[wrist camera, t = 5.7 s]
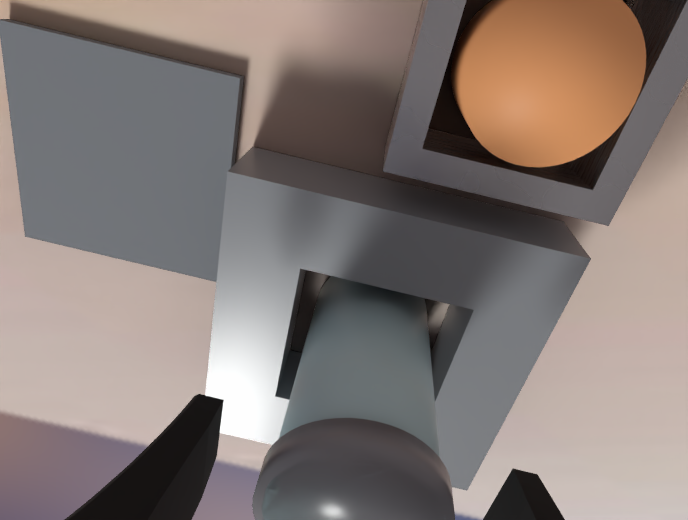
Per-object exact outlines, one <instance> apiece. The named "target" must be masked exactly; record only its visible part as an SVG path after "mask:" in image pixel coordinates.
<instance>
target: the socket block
mask: <svg viewBox="0 0 688 520" xmlns="http://www.w3.org/2000/svg"><path fill="white" fill-rule="evenodd" d="M590 260H591V258H590V257H589V256H588V254H587V253H586V252H585V250H584V249H583V248H582V246H581V245H580V244H579V242H578V241H577V239H576V238H575V237H574V235H573V234H572V233H571V231H570V230H569V229H568V227H567V226H566V225H565V223H564V222H563V221H559V220H555V219H550V218H546V217H542V216H538V215H534V214H530V213H526V212H521V211H517V210H513V209H509V208H505V207H501V206H497V205H492V204H488V203H484V202H480V201H476V200H472V199H468V198H463V197H459V196H455V195H451V194H447V193H443V192H439V191H434V190H430V189H426V188H422V187H418V186H414V185H410V184H405V183H401V182H397V181H393V180H389V179H385V178H381V177H376V176H372V175H368V174H364V173H360V172H356V171H352V170H347V169H343V168H339V167H335V166H331V165H327V164H323V163H318V162H314V161H310V160H306V159H302V158H298V157H294V156H289V155H285V154H281V153H277V152H273V151H269V150H265V149H260V148H256V147H252V148H251V149H250V150H249V151H248V152H247V153H246V154H245V155H244V156H243V157H242V158H241V159H240V160H239V161H238V162H237V163H236V164H234V165H233V166H232V167H231V168H230V169H229V170H228V171H227V181H226V191H225V201H224V211H223V221H222V231H221V242H220V252H219V262H218V272H217V282H216V292H215V302H214V312H213V322H212V332H211V343H210V353H209V363H208V373H207V383H206V393H205V395H206V396H210V397H214V398H218V399H222V400H224V402H223V410H222V418H221V426H220V433H224V434H228V435H232V436H237V437H241V438H245V439H249V440H254V441H258V442H262V443H266V444H271V445H273V444H274V443H275V442H276V441H277V440H278V439H279V436H280V432H281V428H282V425H283V421H284V418H285V414H286V410H287V407H288V403H289V399H290V396H291V392H292V389H293V385H294V381H295V378H296V374H297V370H298V367H299V363H300V359H301V356H302V353H300V352H295V351H291V350H290V347H291V342H292V337H293V332H294V327H295V322H296V317H297V312H298V307H299V303H300V298H301V293H302V288H303V283H304V278H305V273H306V270H309V271H313V272H317V273H321V274H326V275H330V276H334V277H338V278H342V279H346V280H351V281H355V282H359V283H363V284H367V285H372V286H376V287H380V288H384V289H388V290H393V291H397V292H401V293H405V294H409V295H414V296H418V297H422V298H426V299H430V300H435V301H439V302H443V303H447V304H450V305H449V308H448V310H447V313H446V315H445V318H444V321H443V323H442V326H441V328H440V331H439V333H438V336H437V339H436V341H435V344H434V346H433V349H432V351H431V364H432V375H433V387H434V398H435V409H436V420H437V432H438V443H439V454H440V459H441V460H442V462H443V463H444V465H445V466H446V469H447V471H448V473H449V476H450V481H451V486H452V487H455V488H459V489H463V490H468V488H469V486H470V484H471V482H472V480H473V478H474V477H475V475H476V473H477V471H478V469H479V467H480V465H481V463H482V462H483V460H484V458H485V456H486V454H487V452H488V450H489V449H490V447H491V445H492V443H493V441H494V439H495V437H496V435H497V434H498V432H499V430H500V428H501V426H502V424H503V422H504V420H505V419H506V417H507V415H508V413H509V411H510V409H511V407H512V406H513V404H514V402H515V400H516V398H517V396H518V394H519V392H520V391H521V389H522V387H523V385H524V383H525V381H526V379H527V377H528V376H529V374H530V372H531V370H532V368H533V366H534V364H535V363H536V361H537V359H538V357H539V355H540V353H541V351H542V349H543V348H544V346H545V344H546V342H547V340H548V338H549V336H550V334H551V333H552V331H553V329H554V327H555V325H556V323H557V321H558V320H559V318H560V316H561V314H562V312H563V310H564V308H565V306H566V305H567V303H568V301H569V299H570V297H571V295H572V293H573V291H574V290H575V288H576V286H577V284H578V282H579V280H580V278H581V277H582V275H583V273H584V271H585V269H586V267H587V265H588V263H589V262H590Z"/></svg>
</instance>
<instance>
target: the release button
mask: <svg viewBox="0 0 688 520" xmlns="http://www.w3.org/2000/svg"><path fill="white" fill-rule="evenodd" d="M645 68H646V48H645V40H644V37H643V33H642V29H641V27H640V25H639V23H638V20H637V18H636V17H635V15H634V14H633V12H632V11H631V9H630V8H629V7H628V6H627V5H626V4H625V3H624V2H623V0H492V1H490V2H489V3H488V4H486V5H485V6H484V7H483V8H482V9H481V10H479V11H478V12H477V13H476V14H475V16H474V17H473V18H472V19H471V20H470V22H469V23H468V24H467V26H466V28H465V29H464V31H463V32H462V34H461V36H460V38H459V40H458V43H457V45H456V48H455V51H454V55H453V59H452V66H451V85H452V91H453V95H454V98H455V101H456V103H457V105H458V108H459V110H460V111H461V113H462V115H463V117H464V119H465V120H466V122H467V124H468V126H469V128H470V129H471V131H472V133H473V134H474V136H475V137H476V139H477V140H478V141H479V142H480V143H481V145H482V146H484V147H485V148H486V149H487V150H488V151H489V152H490V153H492V154H494V155H495V156H497V157H498V158H500V159H502V160H504V161H506V162H509V163H512V164H516V165H520V166H526V167H549V166H554V165H560V164H563V163H566V162H569V161H572V160H575V159H577V158H579V157H581V156H583V155H585V154H587V153H589V152H590V151H592V150H594V149H595V148H596V147H598V146H599V145H601V144H602V143H603V142H604V141H606V140H607V139H608V138H609V137H610V136H611V135H612V134H613V133H614V132H615V131H616V130H617V129H618V128H619V127H620V125H621V124H622V123H623V121H624V120H625V119H626V117H627V116H628V115H629V113H630V111H631V109H632V108H633V106H634V104H635V102H636V100H637V97H638V95H639V93H640V90H641V87H642V83H643V80H644V75H645Z"/></svg>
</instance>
